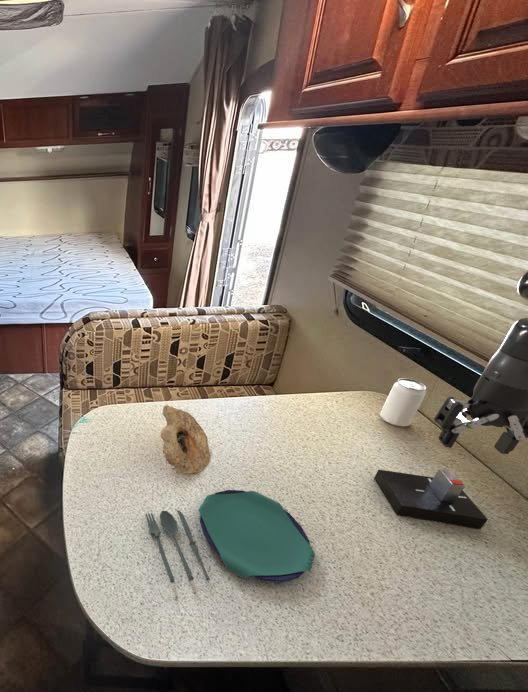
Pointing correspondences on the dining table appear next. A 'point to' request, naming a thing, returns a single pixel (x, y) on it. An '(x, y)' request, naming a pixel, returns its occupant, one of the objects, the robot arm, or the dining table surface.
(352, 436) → the dining table surface
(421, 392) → the can
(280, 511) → the cutlery set
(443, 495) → the stove knob
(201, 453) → the brown hollow rock
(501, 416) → the robot arm
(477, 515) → the stove
